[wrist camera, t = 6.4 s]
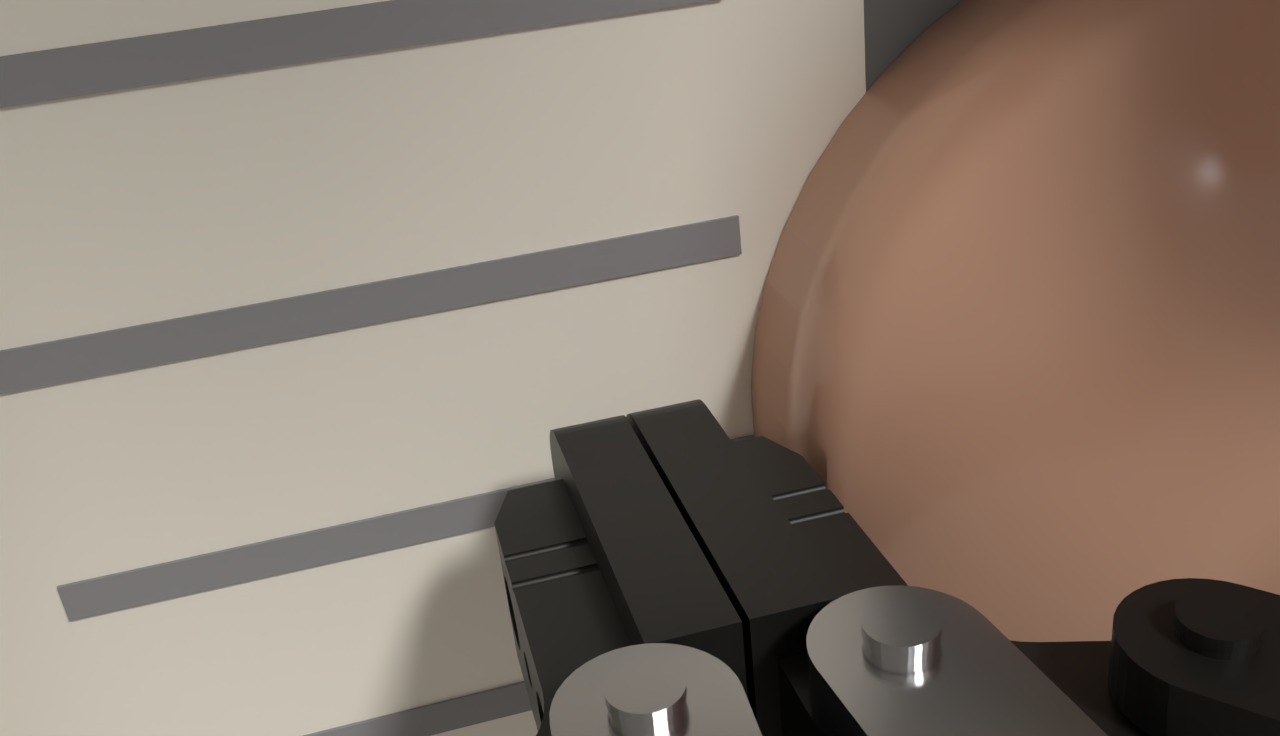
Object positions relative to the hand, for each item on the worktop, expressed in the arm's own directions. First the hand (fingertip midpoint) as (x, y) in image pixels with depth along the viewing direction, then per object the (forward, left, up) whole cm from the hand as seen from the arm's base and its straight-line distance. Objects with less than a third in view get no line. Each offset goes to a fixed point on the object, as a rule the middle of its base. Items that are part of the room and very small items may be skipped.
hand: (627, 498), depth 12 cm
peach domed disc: (0, +6, -1) cm, 6 cm away
